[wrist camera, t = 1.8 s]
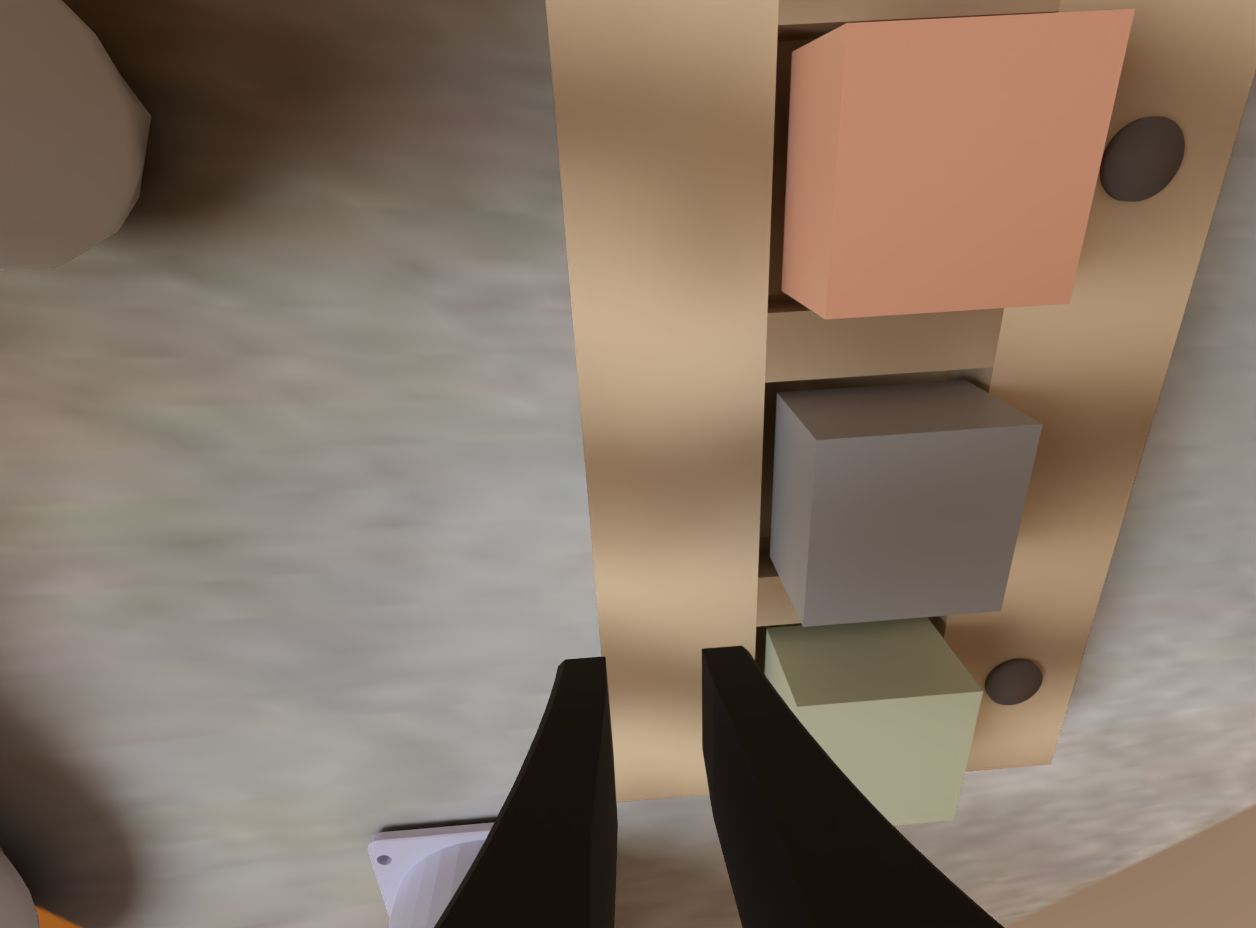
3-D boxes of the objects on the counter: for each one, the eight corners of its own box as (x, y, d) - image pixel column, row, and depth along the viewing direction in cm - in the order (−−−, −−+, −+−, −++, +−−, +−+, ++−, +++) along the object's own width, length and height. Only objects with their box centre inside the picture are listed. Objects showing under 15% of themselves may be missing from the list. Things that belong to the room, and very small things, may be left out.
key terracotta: (982, 278, 15) (1069, 304, 12) (781, 290, 15) (825, 319, 12) (1021, 40, 13) (1135, 9, 10) (791, 51, 13) (846, 23, 10)
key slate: (937, 543, 18) (1001, 610, 15) (769, 556, 18) (803, 626, 15) (965, 379, 16) (1042, 424, 13) (777, 392, 16) (816, 440, 13)
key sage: (905, 734, 21) (954, 820, 18) (761, 746, 21) (788, 835, 18) (925, 615, 19) (982, 691, 16) (766, 628, 19) (797, 707, 16)
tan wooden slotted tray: (1005, 706, 24) (1054, 769, 21) (611, 739, 23) (614, 808, 21) (1185, -30, 15) (1306, -68, 12) (549, 1, 14) (542, -32, 12)
